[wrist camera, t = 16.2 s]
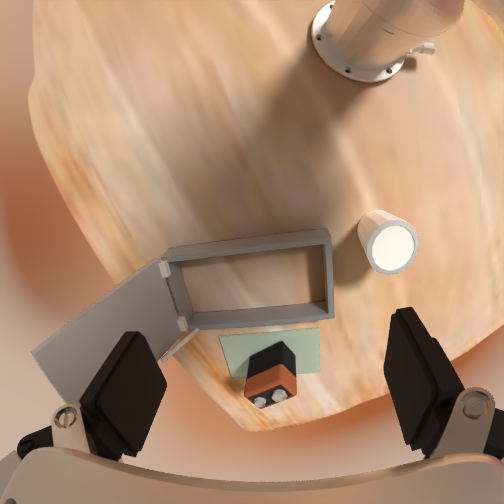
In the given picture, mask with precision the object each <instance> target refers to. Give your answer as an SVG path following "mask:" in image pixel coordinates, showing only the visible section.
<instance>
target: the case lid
mask: <svg viewBox="0 0 504 504" xmlns="http://www.w3.org/2000/svg"><path fill="white" fill-rule="evenodd" d="M159 263H161V262H160V259H153V260H152V261H150V262H149V263H148V264H146V265H145V266H143V267H142V268H141V269H139V270H138V271H136V272H135V273H133V274H132V275H131V276H129V277H128V278H126V279H125V280H124V281H122V282H121V283H120V284H118V285H117V286H115V287H114V288H113V289H111V290H110V291H109V292H107V293H106V294H104V295H103V296H102V297H100V298H99V299H98V300H96V301H95V302H94V303H92V304H91V305H90V306H88V307H87V308H86V309H85V310H83V311H82V312H81V313H79V314H78V315H77V316H75V317H74V318H73V319H71V320H70V321H69V322H68V323H66V324H65V325H64V326H62V327H61V328H60V329H59V330H57V331H56V332H55V333H54V334H52V335H51V336H50V337H49V338H47V339H46V340H45V341H44V342H42V343H41V344H40V345H39V346H37V347H36V348H35V349H34V350H33V351H31V353H32V355H33V357H34V358H35V360H36V362H37V363H38V365H39V366H40V368H41V369H42V371H43V372H44V374H45V375H46V377H47V378H48V380H49V381H50V383H51V384H52V385H53V387H54V388H55V389H56V391H57V392H58V394H59V395H60V396H61V398H62V399H63V400H64V401H65V403H66V404H74V405H77V406H78V407H79V408H80V407H81V404H80V403H79V402H78V401H79V400H80V398H81V396H82V395H83V393H84V392H85V390H86V389H87V387H88V386H89V384H90V383H91V381H92V379H93V378H94V376H95V375H96V373H97V372H98V370H99V369H100V367H101V366H102V364H103V363H104V361H105V360H106V358H107V357H108V355H109V354H110V353H111V351H112V350H113V348H114V347H115V345H116V344H117V342H118V341H119V340H120V338H121V337H122V335H123V334H124V333H125V332H126V331H139V332H140V333H141V334H142V335H144V336H145V337H146V340H147V342H148V344H149V346H150V348H151V351H152V353H153V355H154V357H155V359H156V361H158V360H159V359H160V358H161V357H162V356H163V354H165V352H166V351H167V350H168V349H169V348H170V347H171V346H172V344H173V343H174V342H175V341H176V340H177V339H178V338H179V337H180V335H181V334H182V333H183V331H180V328H179V325H178V323H177V320H178V319H179V318H178V315H177V312H176V309H175V306H174V303H173V300H172V297H171V294H170V291H169V288H168V285H167V282H166V279H165V278H162V275H161V272H160V268H159V265H158V264H159Z"/></svg>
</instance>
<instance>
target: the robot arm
mask: <svg viewBox="0 0 504 504" xmlns="http://www.w3.org/2000/svg"><path fill="white" fill-rule="evenodd" d="M464 1H465V0H335V1H333V2H331V3H328V4H326V5H325V6H324V7H322V8H321V9H320V10H319V11H318V13H317V14H316V16H315V18H314V20H313V23H312V30H311V35H312V41H313V44H314V46H315V49H316V51H317V52H318V54H319V56H320V57H321V58H322V59H323V61H324V62H325V63H326V64H327V65H328V66H329V67H331V68H332V69H333V70H334V71H336V72H337V73H339V74H341V75H342V76H345V77H347V78H349V79H352V80H355V81H359V82H368V83H371V82H379V81H383V80H386V79H388V78H390V77H392V76H393V75H394V74H396V73H397V72H398V71H399V70H400V68H401V67H402V65H403V63H404V61H405V56H406V54H413V53H414V52H419V53H423V54H430V55H432V54H434V51H435V48H434V45H433V43H432V42H429V40H431V39H433V38H435V37H436V36H438V35H440V34H442V33H444V32H446V31H448V30H449V29H451V28H452V27H453V26H455V25H456V23H457V22H458V21H459V20H460V18H461V15H462V13H463V9H464ZM472 1H473V2H474V3H475V4H477V5H478V6H479V7H480V8H481V9H483V10H484V11H485V12H486V13H487V14H488V15H489V16H490V17H491V18H492V19H493V20H494V21H495V22H496V23H497V24H498V25H499V26H500V27H501V28H502V29H503V30H504V0H472ZM317 38H319V39H320V40H317ZM345 70H348V71H349V73H347V72H346V71H345ZM386 71H388V73H387V72H386ZM384 375H385V378H386V381H387V384H388V387H389V390H390V394H391V397H392V400H393V403H394V406H395V410H396V413H397V416H398V420H399V423H400V426H401V430H402V433H403V437H404V441H405V443H406V445H409V444H410V446H411V450H412V451H414V450H417V449H420V448H421V450H422V453H423V454H424V455H425V456H424V457H423V459H422V460H421V461H417V462H413V463H408V464H404V465H400V466H396V467H391V468H387V469H383V470H378V471H372V472H367V473H361V474H355V475H349V476H343V477H336V478H328V479H318V480H306V481H290V482H243V481H225V480H213V479H204V478H195V477H188V476H182V475H175V474H169V473H164V472H159V471H154V470H149V469H145V468H140V467H136V466H132V465H128V464H124V463H123V460H122V458H121V456H122V454H123V453H124V455H128V456H132V457H136V455H137V453H138V451H141V450H142V448H143V445H144V442H145V440H146V437H147V435H148V432H149V430H150V427H151V425H152V422H153V420H154V417H155V415H156V413H157V410H158V408H159V405H160V403H161V400H162V398H163V395H164V393H165V391H166V388H167V382H166V379H165V378H164V376H163V374H162V371H161V369H160V367H159V366H158V363H157V361H156V359H155V357H154V355H153V353H152V351H151V348H150V346H149V344H148V342H147V340H146V337H145V336H144V335H142V334H141V333H140V332H139V331H126V332H125V333H124V334H123V335H122V337H121V338H120V340H119V341H118V342H117V344H116V345H115V347H114V348H113V350H112V351H111V353H110V354H109V355H108V357H107V358H106V360H105V361H104V363H103V364H102V366H101V367H100V369H99V370H98V372H97V373H96V375H95V376H94V378H93V379H92V381H91V383H90V384H89V386H88V387H87V389H86V390H85V392H84V393H83V395H82V396H81V398H80V400H79V401H78V402H79V403H80V404H81V407H80V408H79V407H78V406H77V405H74V404H66V405H64V406H61V407H60V408H58V409H57V410H56V411H55V413H54V414H53V416H52V420H51V426H49V427H46V428H43V429H41V430H39V431H36V432H34V433H31V434H29V435H27V436H25V437H23V438H22V439H21V440H20V442H19V443H18V447H17V452H16V451H15V450H14V451H13V452H11V453H10V454H9V455H7V456H6V457H5V458H3V459H2V460H1V461H0V504H504V411H503V410H500V409H497V408H495V401H494V398H493V396H492V395H491V394H490V393H489V392H488V391H487V390H485V389H483V388H479V387H472V388H468V389H466V390H465V388H464V386H463V385H462V383H461V381H460V379H459V377H458V375H457V373H456V372H455V370H454V368H453V366H452V364H451V363H450V361H449V359H448V357H447V356H446V354H445V352H444V351H443V349H442V347H441V346H440V344H439V342H438V341H437V340H436V338H431V336H430V334H429V333H428V331H427V329H426V328H425V326H424V325H423V323H422V321H421V320H420V318H419V317H418V315H417V314H416V312H415V310H414V309H413V308H412V307H406V308H401V309H397V310H396V313H395V314H392V316H391V322H390V330H389V337H388V344H387V350H386V356H385V362H384Z"/></svg>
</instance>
